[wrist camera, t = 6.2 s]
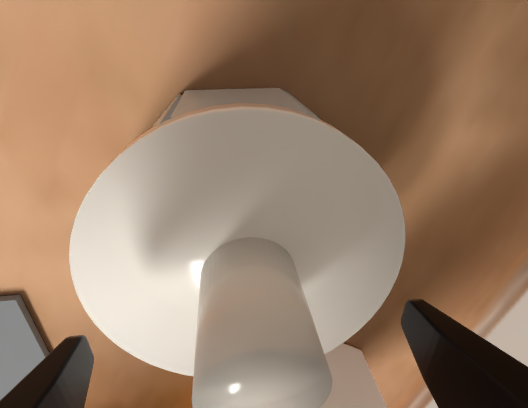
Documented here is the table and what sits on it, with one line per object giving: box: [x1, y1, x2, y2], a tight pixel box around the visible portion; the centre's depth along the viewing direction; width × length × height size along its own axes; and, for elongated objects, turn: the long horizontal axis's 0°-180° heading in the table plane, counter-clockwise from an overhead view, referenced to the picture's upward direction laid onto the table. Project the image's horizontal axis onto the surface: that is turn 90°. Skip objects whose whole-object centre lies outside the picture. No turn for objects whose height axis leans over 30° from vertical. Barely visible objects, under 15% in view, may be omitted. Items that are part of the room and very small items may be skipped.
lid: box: [69, 103, 405, 408], centre depth 9 cm, size 11×11×5 cm
